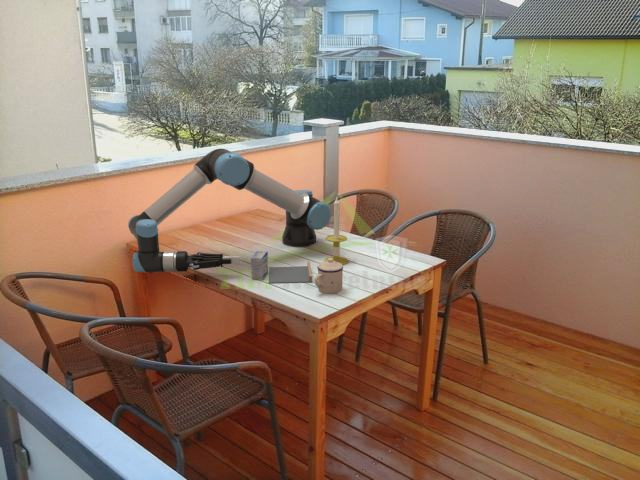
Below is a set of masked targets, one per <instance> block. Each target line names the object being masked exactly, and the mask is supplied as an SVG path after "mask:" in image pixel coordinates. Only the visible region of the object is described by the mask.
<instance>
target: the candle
mask: <svg viewBox="0 0 640 480" xmlns="http://www.w3.org/2000/svg"><path fill="white" fill-rule="evenodd" d="M325 240H326V241H328V242H331V243H333V244H332V245H333V246H332V250H333V251H332V252H333V253H332V254H333V255H332V256H328V257H326V258H325V259H324V260H323V262H325V261H328V258H332V259H333V261H336V262H339V263H341V264H342V265H343V266H344V265H347V264H348V263H349V259H348V258H347V257H345V256H340V253H341V251H340V249H341V247H340V246H341V245H340V243H342V242H343V243H344V242H346V241H347V240H348V237H347V236H346V235H341V234H340V201H339V198H338V197H336V198H335V201H334V202H333V234H330V235H328V236H326V237H325Z"/></svg>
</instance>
